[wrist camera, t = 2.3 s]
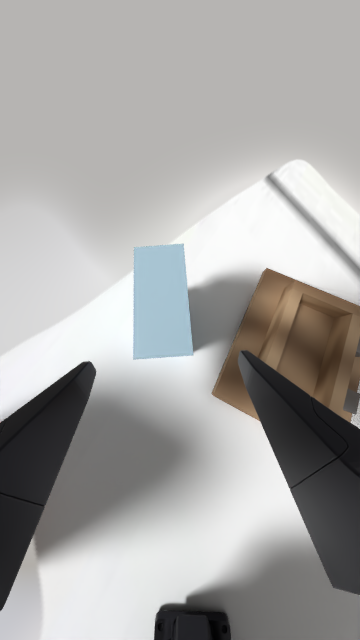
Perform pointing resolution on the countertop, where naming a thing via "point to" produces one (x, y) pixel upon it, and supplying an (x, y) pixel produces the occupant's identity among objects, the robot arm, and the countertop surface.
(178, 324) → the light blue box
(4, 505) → the robot arm
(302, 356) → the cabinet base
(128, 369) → the countertop surface
